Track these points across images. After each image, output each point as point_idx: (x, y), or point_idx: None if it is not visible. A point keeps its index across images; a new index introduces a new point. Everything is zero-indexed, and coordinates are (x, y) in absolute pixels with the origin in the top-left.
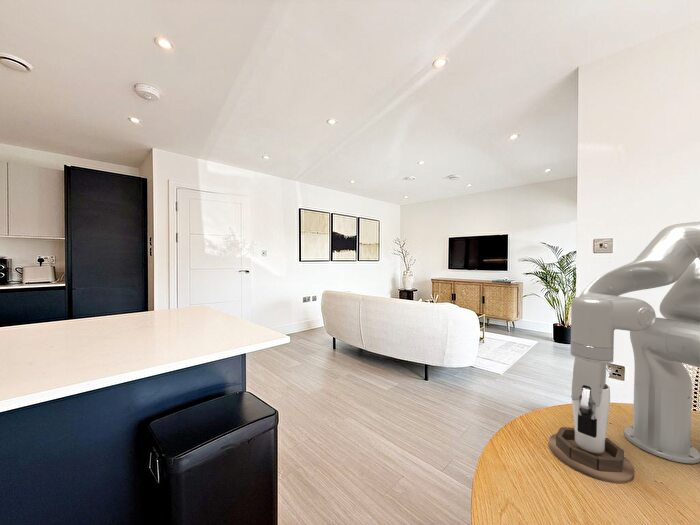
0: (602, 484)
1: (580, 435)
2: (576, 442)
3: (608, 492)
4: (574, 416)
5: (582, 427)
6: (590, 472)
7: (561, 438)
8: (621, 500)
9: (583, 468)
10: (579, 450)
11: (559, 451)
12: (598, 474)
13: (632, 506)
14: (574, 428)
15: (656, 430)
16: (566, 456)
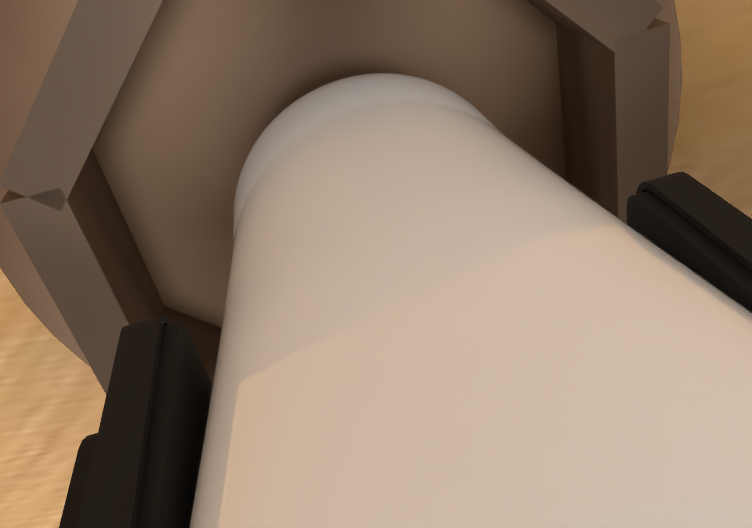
0: (57, 363)
1: (232, 258)
2: (257, 141)
3: (8, 415)
4: (269, 311)
5: (85, 470)
6: (40, 313)
7: (98, 20)
8: (19, 472)
9: (22, 269)
10: (69, 264)
11: (43, 5)
12: (78, 355)
13: (36, 510)
14: (309, 159)
15: None
16: (32, 99)
